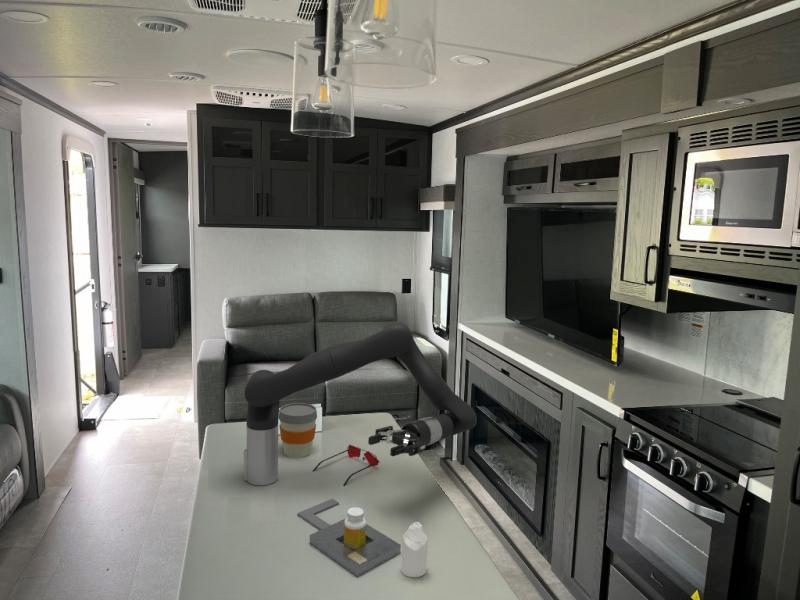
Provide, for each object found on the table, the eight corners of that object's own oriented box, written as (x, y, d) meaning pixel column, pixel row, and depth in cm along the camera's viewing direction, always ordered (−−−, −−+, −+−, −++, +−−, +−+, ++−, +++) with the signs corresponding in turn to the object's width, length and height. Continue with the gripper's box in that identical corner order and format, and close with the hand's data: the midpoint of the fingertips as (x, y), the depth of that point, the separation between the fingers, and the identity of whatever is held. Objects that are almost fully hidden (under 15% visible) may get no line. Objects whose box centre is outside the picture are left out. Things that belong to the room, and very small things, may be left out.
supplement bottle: (362, 555, 146) (363, 518, 145) (340, 551, 147) (341, 515, 146) (367, 543, 152) (369, 507, 150) (347, 539, 153) (348, 504, 151)
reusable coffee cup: (297, 441, 210) (298, 400, 208) (324, 451, 203) (325, 408, 201) (270, 452, 200) (270, 409, 198) (297, 463, 193) (297, 419, 191)
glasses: (380, 469, 193) (380, 454, 192) (344, 487, 180) (344, 471, 179) (348, 455, 201) (349, 441, 201) (311, 472, 189) (312, 457, 188)
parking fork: (330, 537, 153) (330, 535, 153) (297, 515, 163) (297, 513, 163) (365, 520, 162) (365, 518, 162) (332, 500, 171) (332, 498, 171)
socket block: (309, 542, 150) (309, 534, 150) (352, 522, 160) (352, 514, 160) (357, 576, 138) (357, 567, 138) (400, 552, 148) (400, 544, 148)
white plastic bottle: (403, 529, 136) (402, 516, 142) (401, 577, 139) (400, 562, 144) (429, 530, 137) (427, 517, 142) (427, 577, 139) (425, 563, 144)
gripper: (405, 412, 174) (363, 424, 162) (442, 428, 164) (400, 442, 153) (403, 436, 175) (361, 450, 164) (440, 454, 165) (398, 470, 154)
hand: (380, 446), depth 158 cm, fingers open, 8 cm apart
